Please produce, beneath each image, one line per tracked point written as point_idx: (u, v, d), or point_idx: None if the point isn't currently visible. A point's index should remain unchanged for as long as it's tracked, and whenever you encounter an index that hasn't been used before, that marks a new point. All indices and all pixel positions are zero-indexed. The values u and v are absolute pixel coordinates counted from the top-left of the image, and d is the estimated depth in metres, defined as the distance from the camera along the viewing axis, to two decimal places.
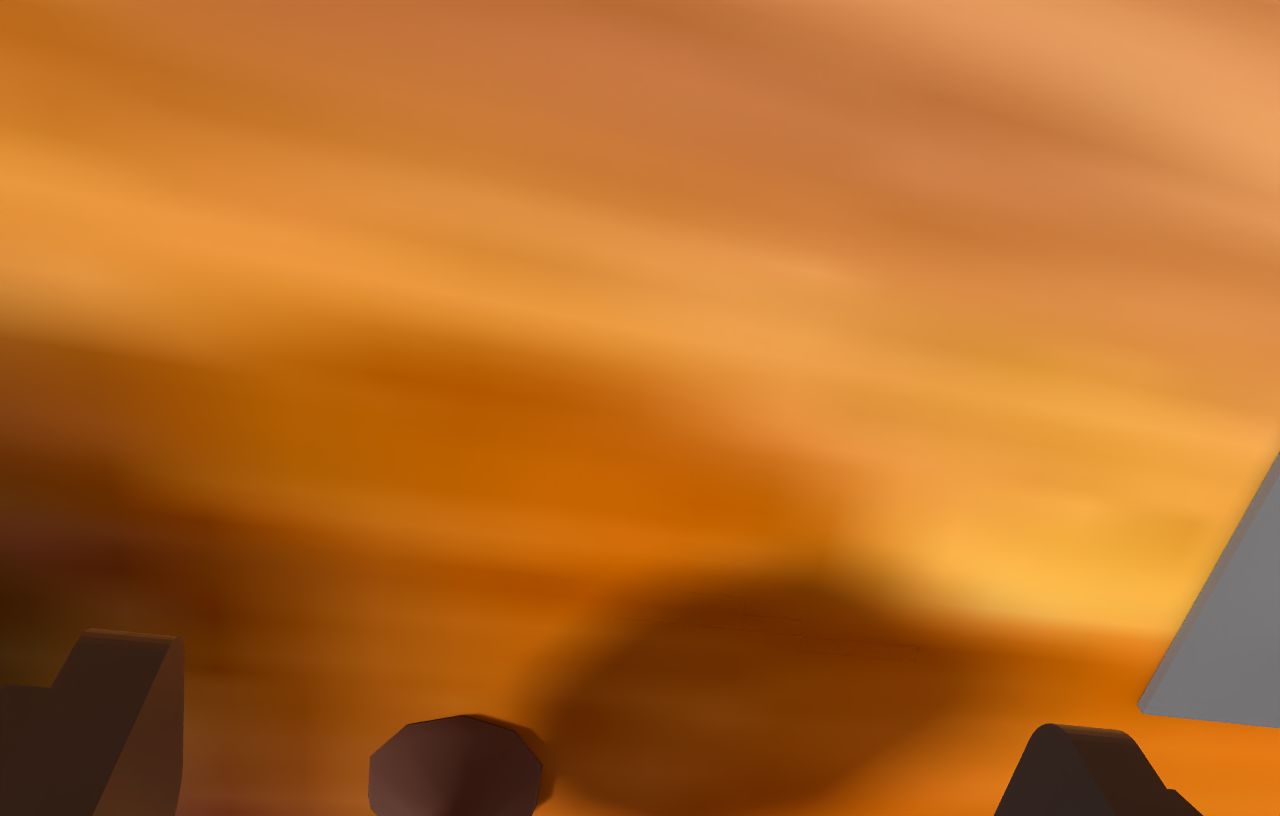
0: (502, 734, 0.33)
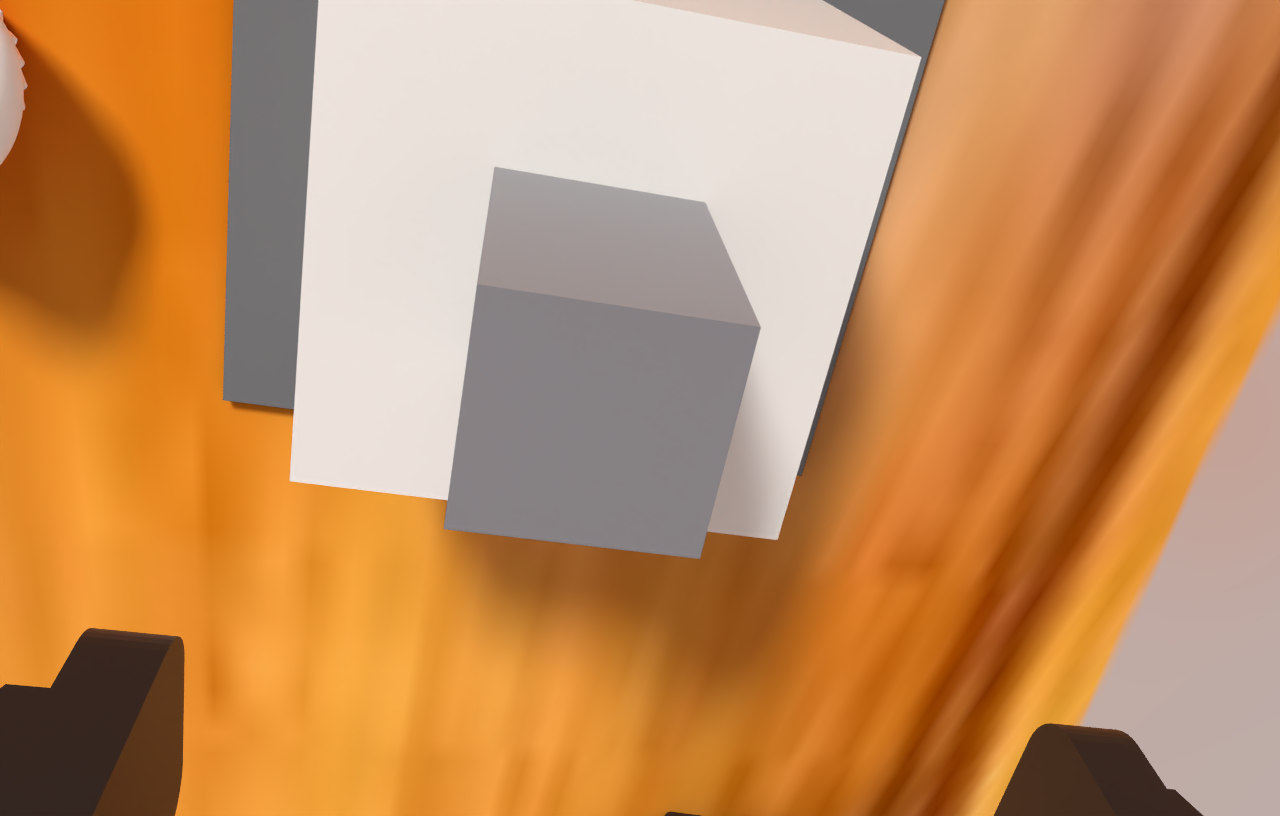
0: None
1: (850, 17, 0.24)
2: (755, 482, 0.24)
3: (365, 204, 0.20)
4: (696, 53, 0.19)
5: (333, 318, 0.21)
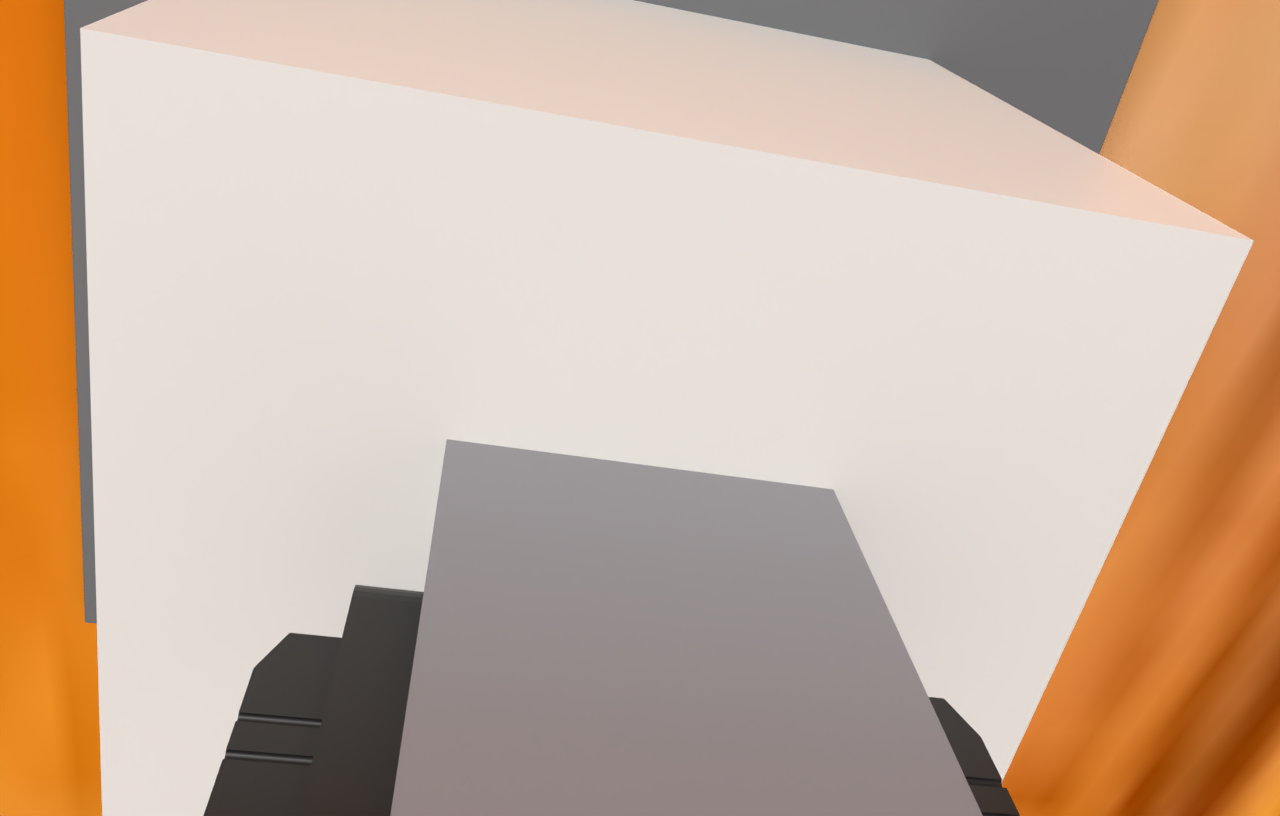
0: None
1: (1039, 122, 0.15)
2: None
3: (205, 505, 0.11)
4: (833, 239, 0.10)
5: (161, 685, 0.12)
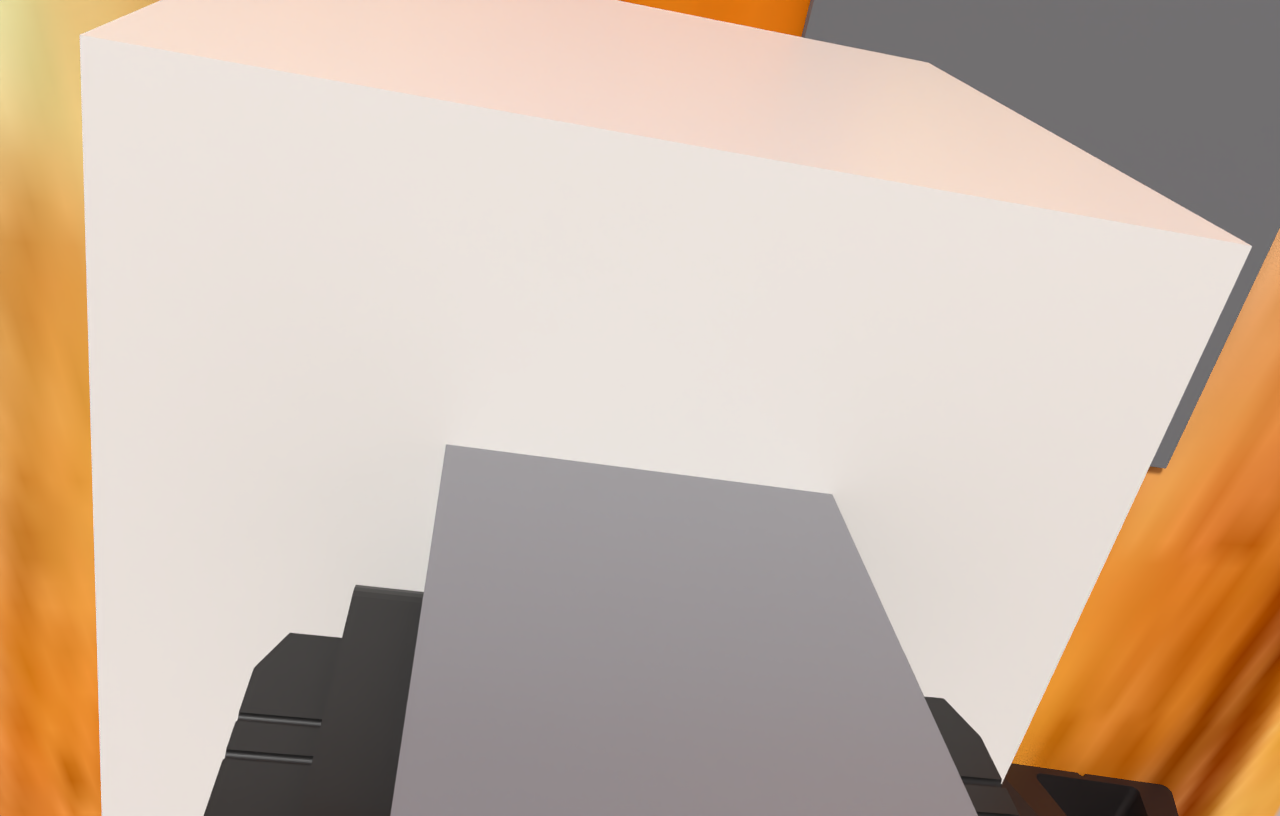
0: None
1: (1038, 126, 0.15)
2: None
3: (204, 510, 0.11)
4: (832, 244, 0.10)
5: (160, 689, 0.12)
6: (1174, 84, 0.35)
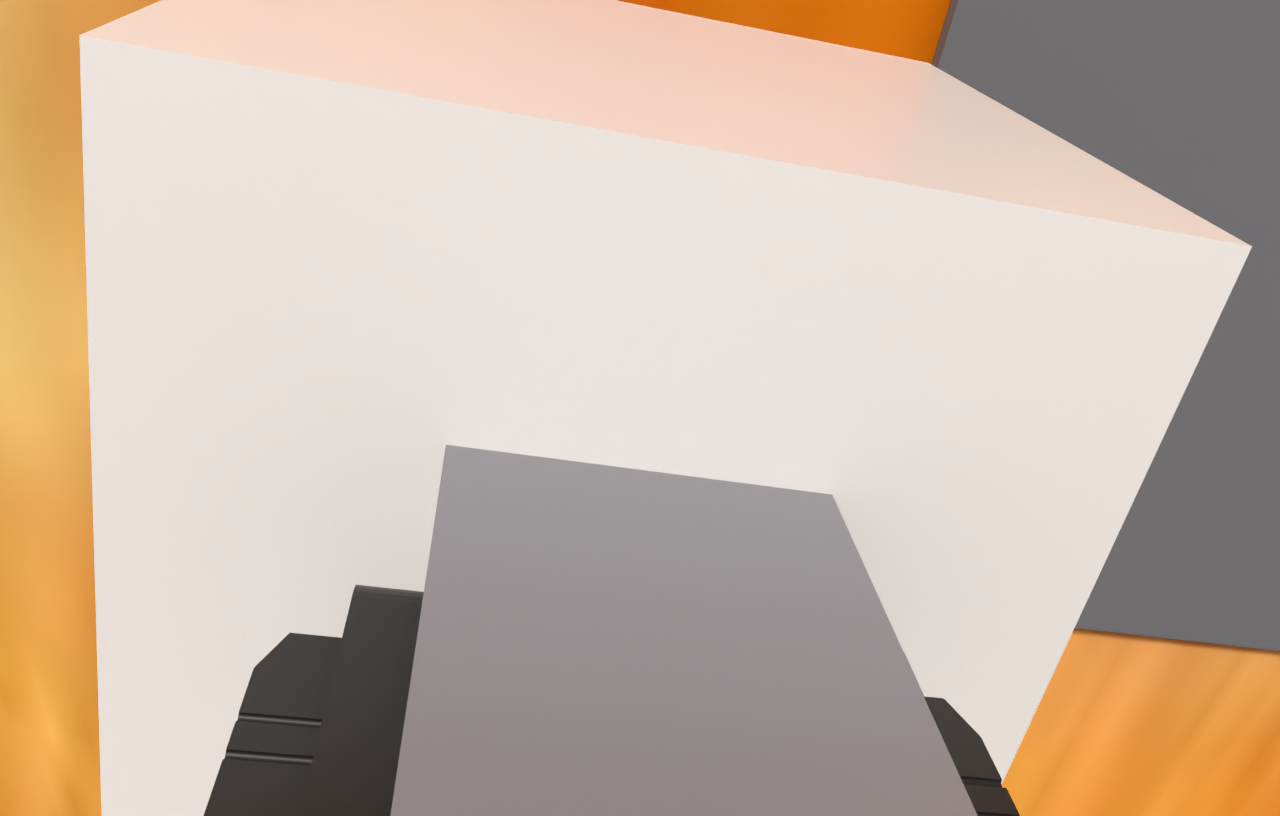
0: None
1: (1038, 127, 0.15)
2: None
3: (204, 511, 0.11)
4: (832, 245, 0.10)
5: (160, 690, 0.12)
6: None
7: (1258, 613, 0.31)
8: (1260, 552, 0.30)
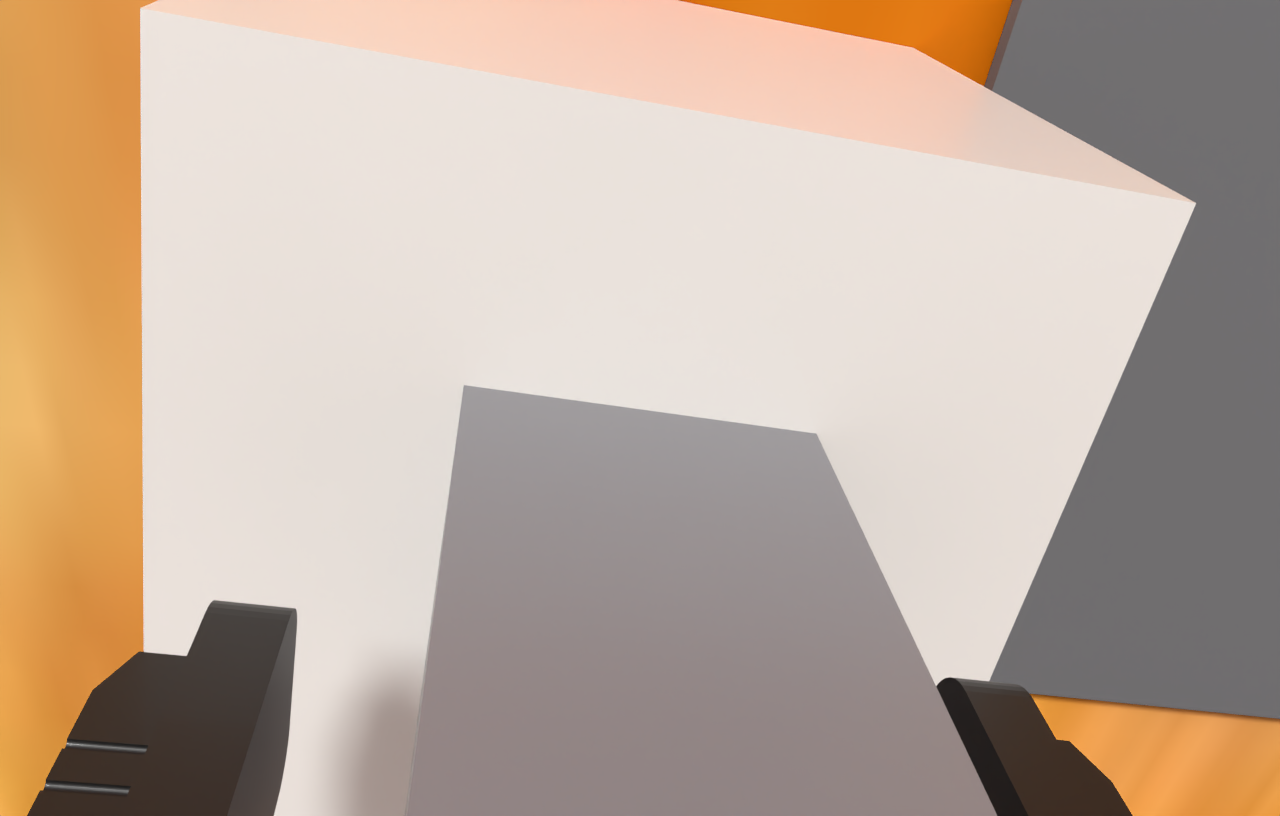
0: None
1: (1011, 103, 0.16)
2: None
3: (243, 447, 0.12)
4: (814, 200, 0.11)
5: (201, 615, 0.13)
6: None
7: None
8: None
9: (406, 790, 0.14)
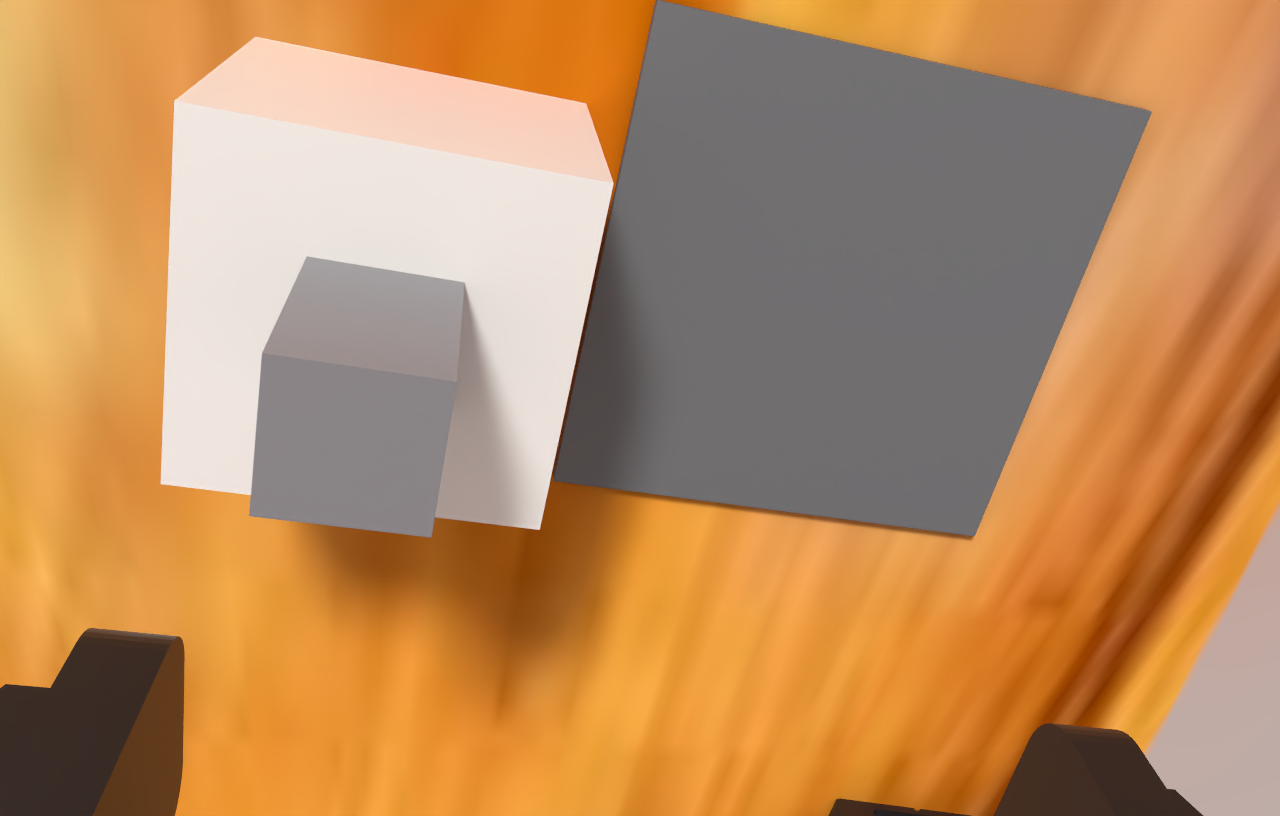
0: None
1: (595, 137, 0.32)
2: (519, 486, 0.32)
3: (211, 282, 0.28)
4: (450, 179, 0.27)
5: (191, 363, 0.29)
6: (958, 203, 0.39)
7: (894, 500, 0.45)
8: (888, 455, 0.44)
9: None
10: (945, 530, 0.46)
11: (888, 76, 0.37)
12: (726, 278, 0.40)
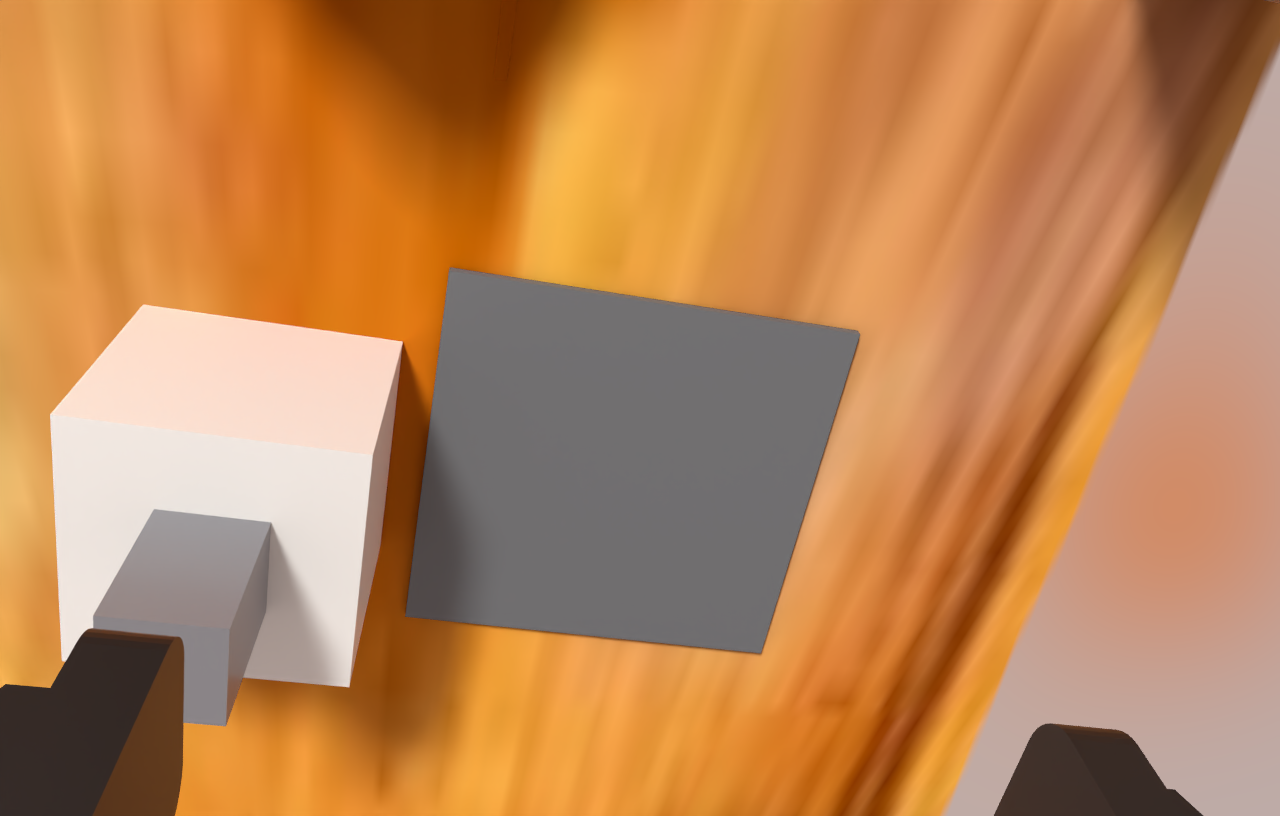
0: None
1: (387, 392, 0.43)
2: (329, 657, 0.42)
3: (87, 527, 0.39)
4: (252, 456, 0.38)
5: (76, 580, 0.40)
6: (710, 405, 0.49)
7: (688, 626, 0.55)
8: (679, 593, 0.54)
9: None
10: (735, 649, 0.56)
11: (639, 316, 0.47)
12: (528, 464, 0.50)
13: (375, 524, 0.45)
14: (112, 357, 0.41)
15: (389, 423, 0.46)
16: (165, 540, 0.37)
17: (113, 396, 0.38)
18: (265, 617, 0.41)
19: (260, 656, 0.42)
